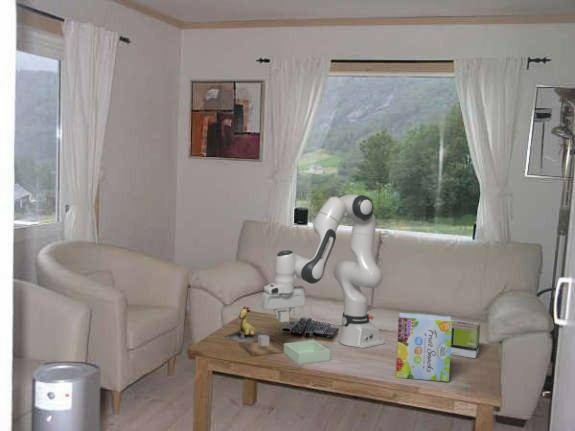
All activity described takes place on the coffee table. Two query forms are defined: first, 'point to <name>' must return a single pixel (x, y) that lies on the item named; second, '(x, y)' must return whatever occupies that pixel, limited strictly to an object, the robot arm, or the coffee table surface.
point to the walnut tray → (262, 347)
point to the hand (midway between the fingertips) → (283, 317)
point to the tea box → (465, 338)
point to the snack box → (423, 347)
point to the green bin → (306, 352)
